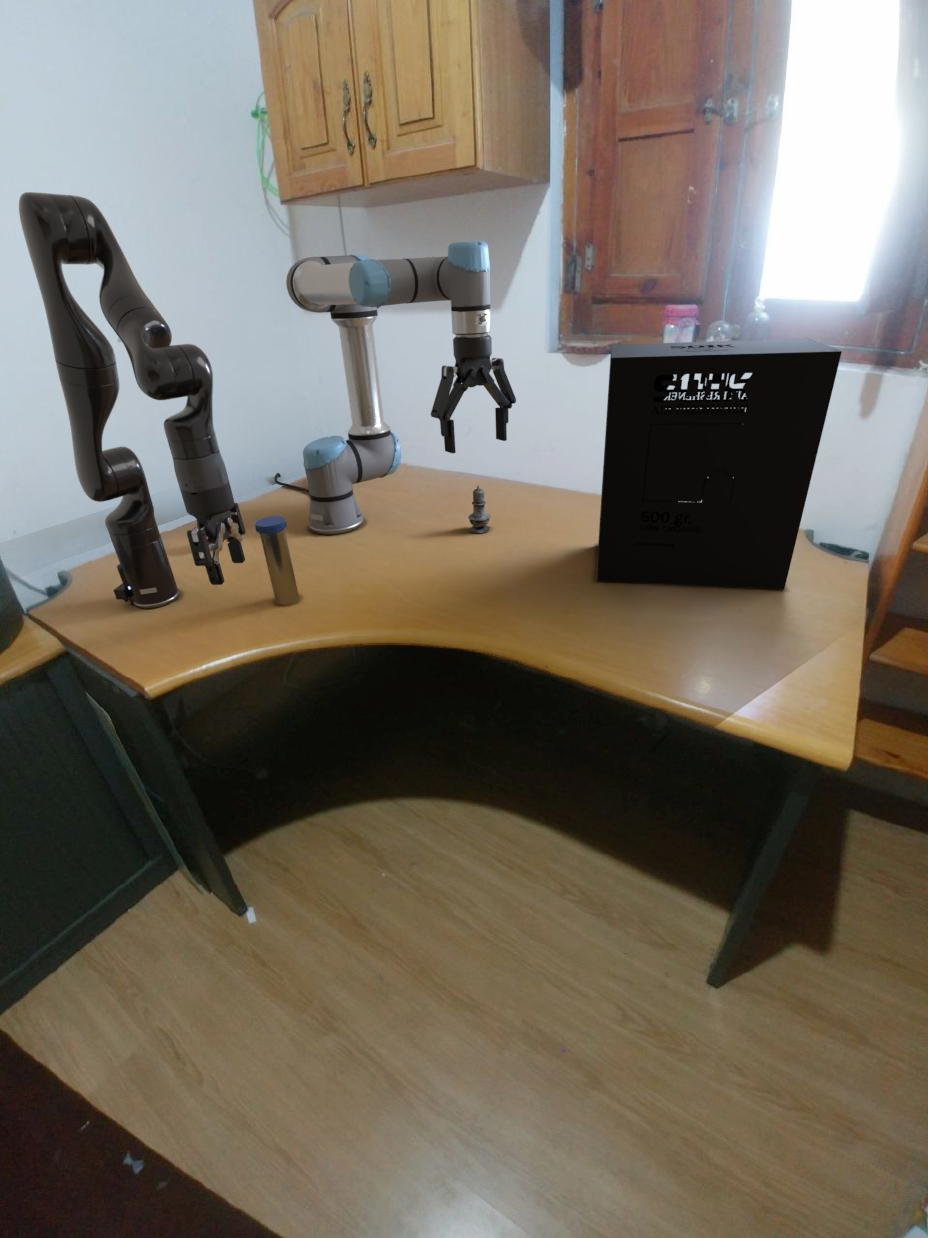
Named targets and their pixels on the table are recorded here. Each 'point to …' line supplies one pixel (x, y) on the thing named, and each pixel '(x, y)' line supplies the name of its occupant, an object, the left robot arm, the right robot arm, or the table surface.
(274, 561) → the bottle
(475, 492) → the grey tall turned piece
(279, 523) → the lid
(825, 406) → the cardboard box
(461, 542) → the table surface
